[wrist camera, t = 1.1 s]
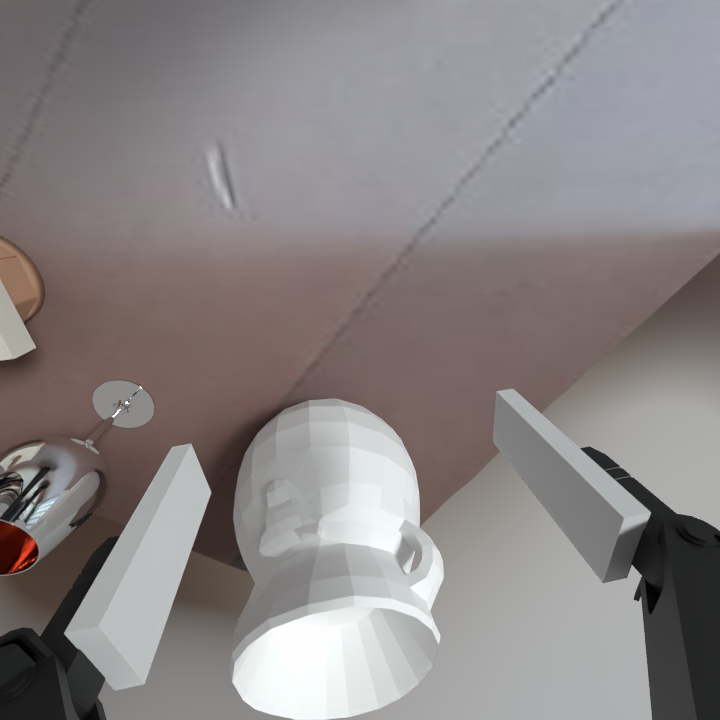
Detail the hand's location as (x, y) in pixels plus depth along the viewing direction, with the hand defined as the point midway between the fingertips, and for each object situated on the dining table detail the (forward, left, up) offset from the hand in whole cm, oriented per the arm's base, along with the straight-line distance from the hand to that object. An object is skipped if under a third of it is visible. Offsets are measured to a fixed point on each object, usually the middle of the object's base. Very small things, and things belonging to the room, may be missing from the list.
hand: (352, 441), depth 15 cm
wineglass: (+10, -24, -25) cm, 36 cm away
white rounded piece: (+18, -2, -25) cm, 30 cm away
